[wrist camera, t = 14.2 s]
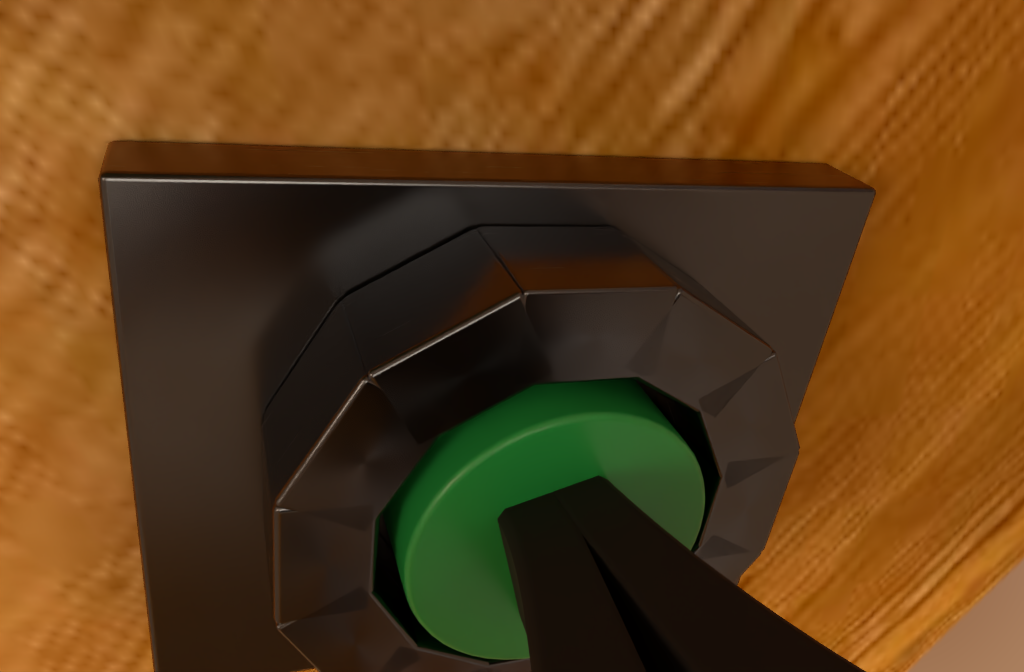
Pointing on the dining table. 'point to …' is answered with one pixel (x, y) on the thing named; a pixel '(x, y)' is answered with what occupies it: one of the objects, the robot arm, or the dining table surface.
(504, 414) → the button
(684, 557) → the robot arm
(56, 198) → the dining table surface
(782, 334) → the panel
